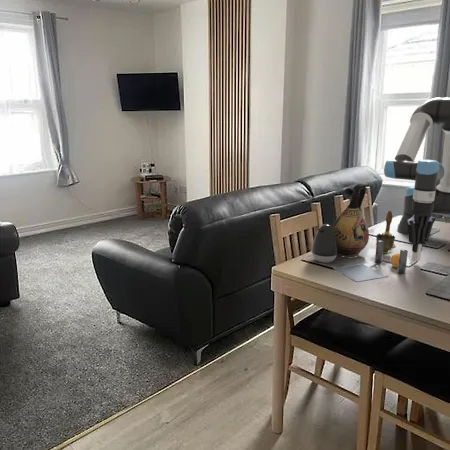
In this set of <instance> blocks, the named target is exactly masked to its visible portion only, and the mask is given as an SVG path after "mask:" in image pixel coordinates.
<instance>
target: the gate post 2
mask: <svg viewBox="0 0 450 450" xmlns="http://www.w3.org/2000/svg"><path fill="white" fill-rule="evenodd" d="M408 253H409V251H408V250H407V249H400V250H399V254H400V257H399V266H398V268H397V274H398V275H400V276H405V274H406V270H407V269H406V268H407V261H408Z"/></svg>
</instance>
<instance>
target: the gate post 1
mask: <svg viewBox="0 0 450 450" xmlns="http://www.w3.org/2000/svg"><path fill="white" fill-rule="evenodd" d="M375 246H376V248H375V255H374V256H375V258H374V263H375V264H377V265H381V264H383V246H384V241H382V240H377V245H375Z"/></svg>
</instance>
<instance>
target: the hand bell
mask: <svg viewBox="0 0 450 450" xmlns="http://www.w3.org/2000/svg"><path fill="white" fill-rule="evenodd" d="M392 221H393V213H392V210H388V211H387V214H386V217H385V224H386V225H385V229H384V230H385V231H384V232H382V233H383V235H385V234H389V236H390V235H392V236H393V234H392V233H391V232H390V231H391V230H390V229H391V223H392ZM375 246H377V243H376V244H375ZM394 248H396V245H395V243H394V244H393V247H392V249H394Z"/></svg>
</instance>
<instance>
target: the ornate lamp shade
mask: <svg viewBox="0 0 450 450" xmlns="http://www.w3.org/2000/svg"><path fill="white" fill-rule="evenodd" d="M383 233H384V232H382V233H381V234H380V233H378V234H376V243H377V240H382V241H384V246H383V255H385V256H386V255H388V254H389V252H390V251H391V250H392V249H393V248H392V247H393V244H395V238H396V236H395V235H394V234H392V235H390V236H389V234H385V235H383ZM383 255H382V256H383Z"/></svg>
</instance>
